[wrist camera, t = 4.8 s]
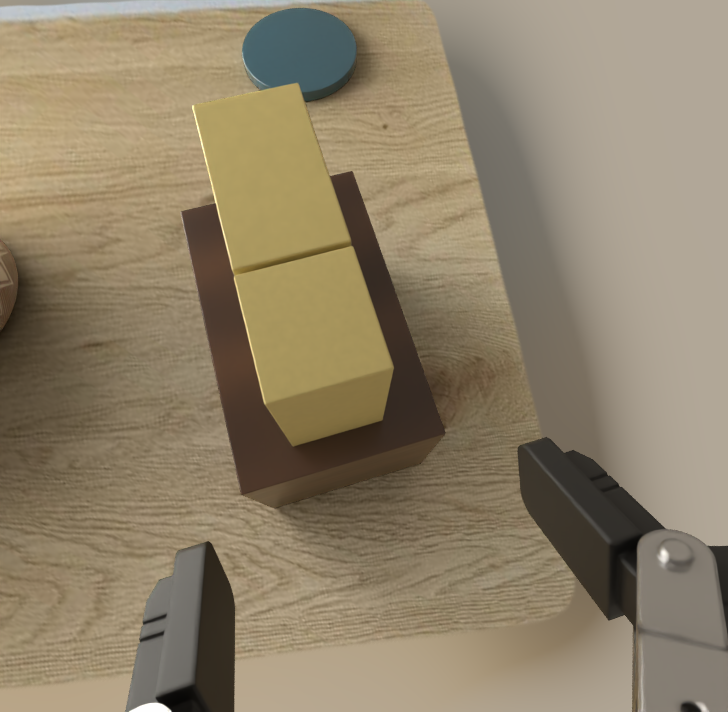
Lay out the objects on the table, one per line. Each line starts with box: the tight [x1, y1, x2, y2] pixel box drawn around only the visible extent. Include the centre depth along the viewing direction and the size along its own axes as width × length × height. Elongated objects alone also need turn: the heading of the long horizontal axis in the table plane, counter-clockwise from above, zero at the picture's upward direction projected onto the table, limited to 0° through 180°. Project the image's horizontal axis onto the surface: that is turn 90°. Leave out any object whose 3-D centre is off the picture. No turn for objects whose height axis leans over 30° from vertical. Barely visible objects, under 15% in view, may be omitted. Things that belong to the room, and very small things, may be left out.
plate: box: [242, 8, 357, 101], centre depth 46 cm, size 10×10×1 cm
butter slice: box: [234, 246, 394, 446], centre depth 22 cm, size 5×4×8 cm
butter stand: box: [181, 171, 445, 508], centre depth 32 cm, size 16×10×10 cm, turn 17°
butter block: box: [193, 83, 351, 275], centre depth 24 cm, size 8×4×8 cm, turn 17°
